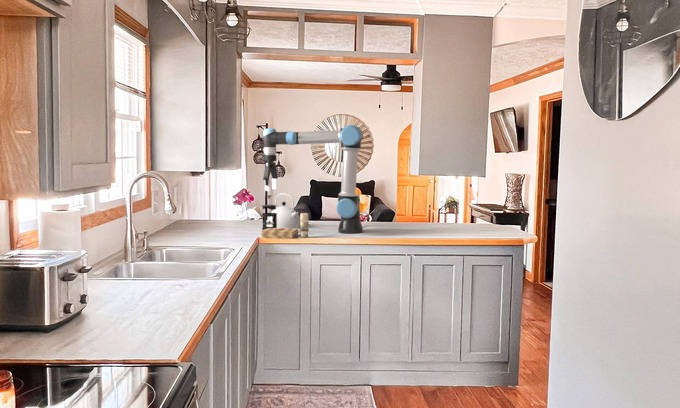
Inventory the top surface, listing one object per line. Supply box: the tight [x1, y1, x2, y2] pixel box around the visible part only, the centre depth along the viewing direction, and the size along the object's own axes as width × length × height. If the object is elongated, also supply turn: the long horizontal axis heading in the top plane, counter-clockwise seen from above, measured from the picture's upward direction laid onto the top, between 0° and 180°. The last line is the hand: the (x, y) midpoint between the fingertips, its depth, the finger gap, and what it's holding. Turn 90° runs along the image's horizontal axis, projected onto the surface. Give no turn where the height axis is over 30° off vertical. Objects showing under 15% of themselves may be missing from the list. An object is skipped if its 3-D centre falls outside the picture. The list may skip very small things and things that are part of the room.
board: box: [261, 228, 299, 240], centre depth 327 cm, size 18×14×4 cm
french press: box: [261, 194, 278, 232], centre depth 338 cm, size 12×9×23 cm
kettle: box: [266, 192, 301, 229], centre depth 365 cm, size 25×23×22 cm
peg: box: [299, 212, 310, 239], centre depth 323 cm, size 5×5×14 cm
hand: (271, 190), depth 336 cm, fingers open, 13 cm apart
